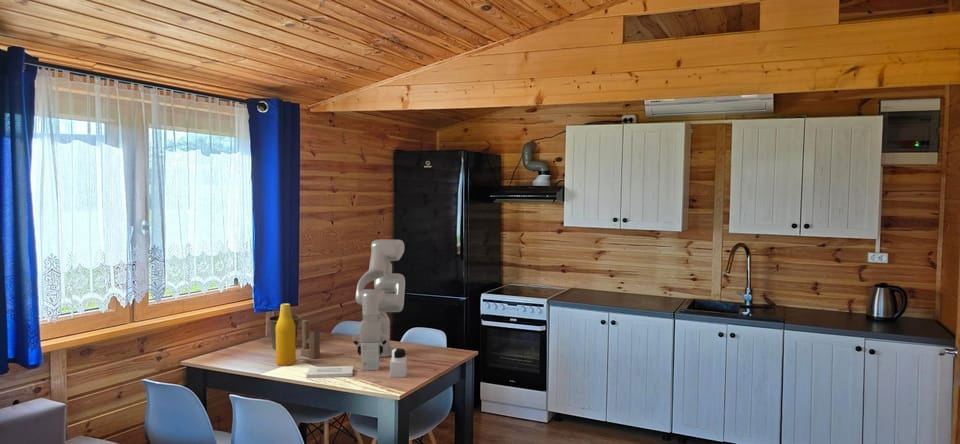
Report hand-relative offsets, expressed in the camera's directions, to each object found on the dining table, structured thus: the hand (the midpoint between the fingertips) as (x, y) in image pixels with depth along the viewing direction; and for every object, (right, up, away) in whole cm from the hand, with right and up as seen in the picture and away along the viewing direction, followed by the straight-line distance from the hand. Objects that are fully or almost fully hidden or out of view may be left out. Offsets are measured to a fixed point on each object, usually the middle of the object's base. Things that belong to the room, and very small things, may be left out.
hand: (370, 354), depth 305 cm
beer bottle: (-42, -7, +9) cm, 44 cm away
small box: (0, -7, +1) cm, 7 cm away
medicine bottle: (+14, -8, -9) cm, 19 cm away
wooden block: (-34, -6, +22) cm, 41 cm away
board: (-17, -7, -7) cm, 20 cm away
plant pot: (-52, -5, +40) cm, 66 cm away
